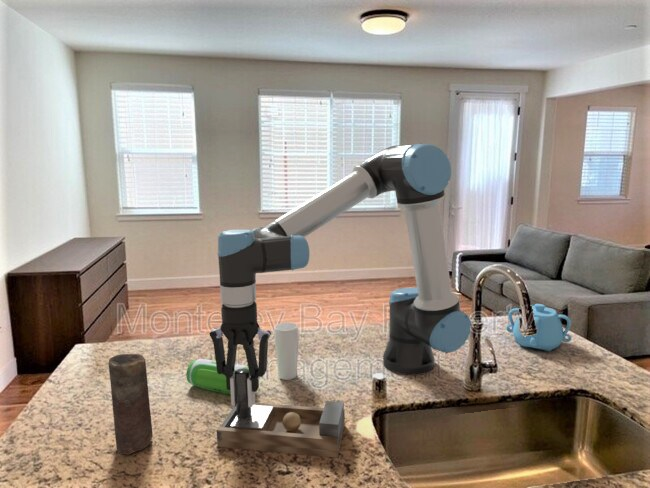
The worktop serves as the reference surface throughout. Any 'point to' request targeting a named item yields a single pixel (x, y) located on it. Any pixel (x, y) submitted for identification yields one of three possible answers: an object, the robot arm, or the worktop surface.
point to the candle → (130, 402)
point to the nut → (291, 421)
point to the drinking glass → (286, 349)
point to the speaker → (208, 375)
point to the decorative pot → (542, 329)
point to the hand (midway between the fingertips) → (243, 403)
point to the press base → (309, 439)
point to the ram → (249, 416)
